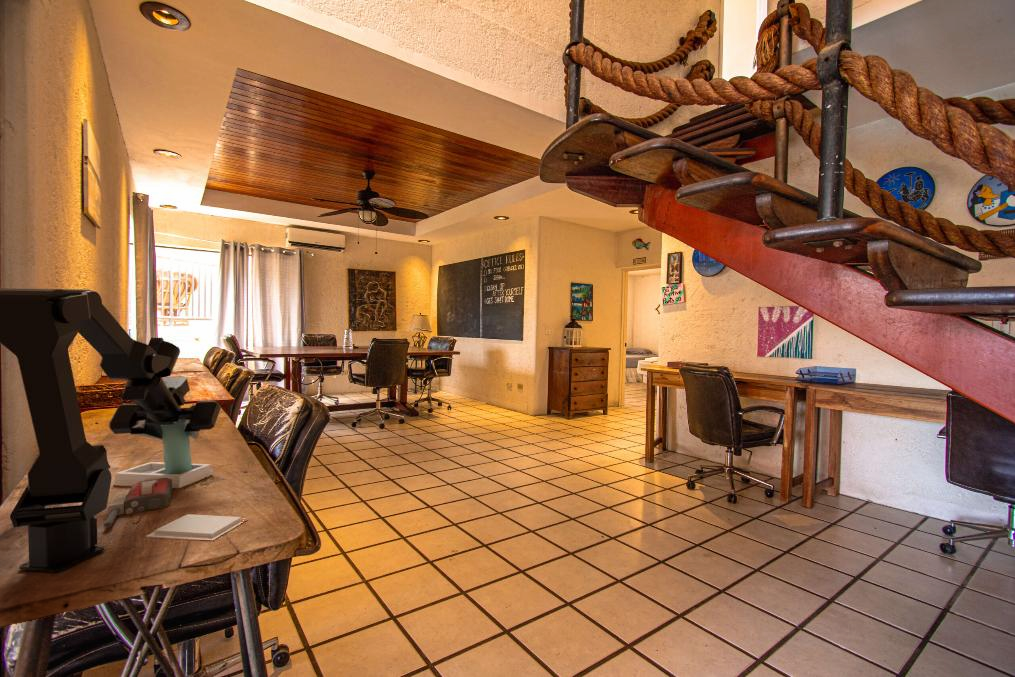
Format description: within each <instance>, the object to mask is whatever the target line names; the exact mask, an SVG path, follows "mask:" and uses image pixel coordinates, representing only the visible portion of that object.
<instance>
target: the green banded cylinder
mask: <svg viewBox="0 0 1015 677" xmlns="http://www.w3.org/2000/svg"><path fill="white" fill-rule="evenodd" d="M187 423H188V422H187V421H186V419H179V420H178V422H177V423H173V424H170V425H161V426H162V439H163V440H162V448H163V449H162V450H163V462H164V465H165V474H182V473H185V472H187V471H190V470H192V464H193V462H192V453H191V452H192V451H191V438H190V437H191V436H190V435H188V434H187V433H185V432H184V430H185V428H186V425H187Z"/></svg>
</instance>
